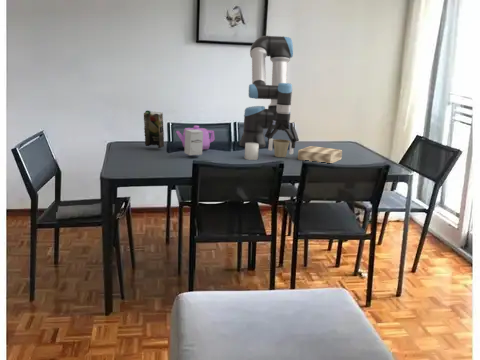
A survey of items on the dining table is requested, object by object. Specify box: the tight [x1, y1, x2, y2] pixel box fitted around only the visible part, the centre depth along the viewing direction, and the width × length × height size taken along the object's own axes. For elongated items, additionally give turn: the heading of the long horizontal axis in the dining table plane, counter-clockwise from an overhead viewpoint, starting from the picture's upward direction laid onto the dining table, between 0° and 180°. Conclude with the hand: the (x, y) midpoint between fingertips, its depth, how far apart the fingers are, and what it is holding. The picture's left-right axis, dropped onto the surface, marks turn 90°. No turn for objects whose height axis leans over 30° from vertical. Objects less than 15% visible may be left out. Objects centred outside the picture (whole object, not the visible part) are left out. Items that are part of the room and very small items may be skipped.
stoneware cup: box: [244, 142, 260, 161], centre depth 296 cm, size 7×7×8 cm
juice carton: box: [143, 110, 165, 149], centre depth 314 cm, size 20×10×6 cm
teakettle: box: [175, 125, 215, 150], centre depth 320 cm, size 17×17×12 cm
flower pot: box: [273, 138, 291, 158], centre depth 306 cm, size 9×9×9 cm
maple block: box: [297, 145, 343, 164], centre depth 305 cm, size 18×18×5 cm
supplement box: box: [184, 130, 203, 156], centre depth 300 cm, size 7×7×13 cm
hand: (280, 152), depth 307 cm, fingers open, 13 cm apart
